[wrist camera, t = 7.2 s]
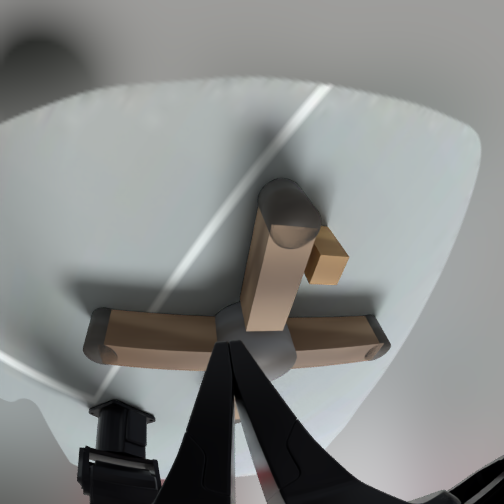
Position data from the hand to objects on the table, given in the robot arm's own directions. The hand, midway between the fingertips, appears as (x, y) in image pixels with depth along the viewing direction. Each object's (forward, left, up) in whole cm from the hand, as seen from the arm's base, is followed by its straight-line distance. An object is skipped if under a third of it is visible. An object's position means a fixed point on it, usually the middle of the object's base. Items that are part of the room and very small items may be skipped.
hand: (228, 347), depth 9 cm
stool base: (-5, -10, -9) cm, 15 cm away
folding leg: (+2, -4, -9) cm, 10 cm away
